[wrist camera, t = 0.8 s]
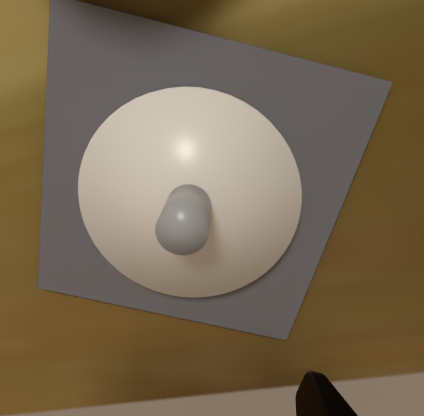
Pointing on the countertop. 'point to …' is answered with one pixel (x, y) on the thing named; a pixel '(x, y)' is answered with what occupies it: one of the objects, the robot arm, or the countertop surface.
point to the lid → (189, 192)
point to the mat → (207, 78)
